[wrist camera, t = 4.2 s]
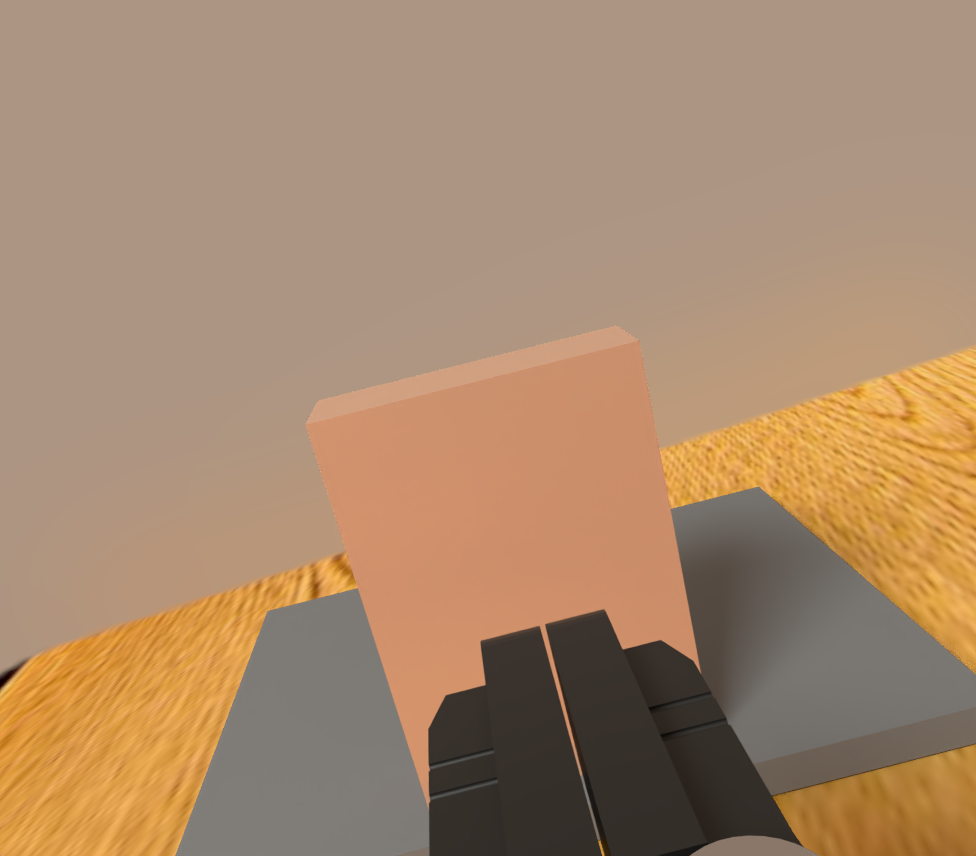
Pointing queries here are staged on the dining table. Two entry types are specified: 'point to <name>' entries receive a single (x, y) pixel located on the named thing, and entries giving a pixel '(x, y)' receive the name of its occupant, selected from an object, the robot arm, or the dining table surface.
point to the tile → (502, 512)
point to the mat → (733, 683)
